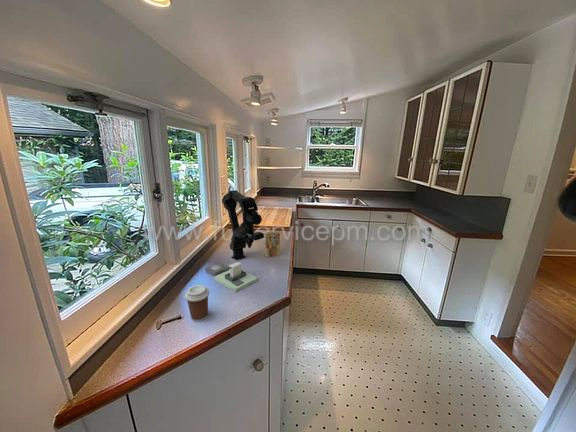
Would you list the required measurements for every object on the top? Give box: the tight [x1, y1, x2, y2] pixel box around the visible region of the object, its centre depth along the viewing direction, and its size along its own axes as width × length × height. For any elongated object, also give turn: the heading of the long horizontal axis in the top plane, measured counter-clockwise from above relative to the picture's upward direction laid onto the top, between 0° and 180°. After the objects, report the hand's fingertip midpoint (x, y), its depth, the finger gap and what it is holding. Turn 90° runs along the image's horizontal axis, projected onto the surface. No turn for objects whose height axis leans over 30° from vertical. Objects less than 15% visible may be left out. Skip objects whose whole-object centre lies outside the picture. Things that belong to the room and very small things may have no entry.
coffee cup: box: [184, 284, 210, 322], centre depth 95 cm, size 9×9×12 cm
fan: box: [204, 262, 229, 277], centre depth 132 cm, size 9×9×3 cm
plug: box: [225, 261, 242, 278], centre depth 122 cm, size 9×3×7 cm, turn 140°
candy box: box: [264, 230, 281, 258], centre depth 151 cm, size 9×4×15 cm, turn 110°
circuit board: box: [213, 269, 259, 292], centre depth 123 cm, size 18×14×4 cm
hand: (249, 247), depth 134 cm, fingers closed
